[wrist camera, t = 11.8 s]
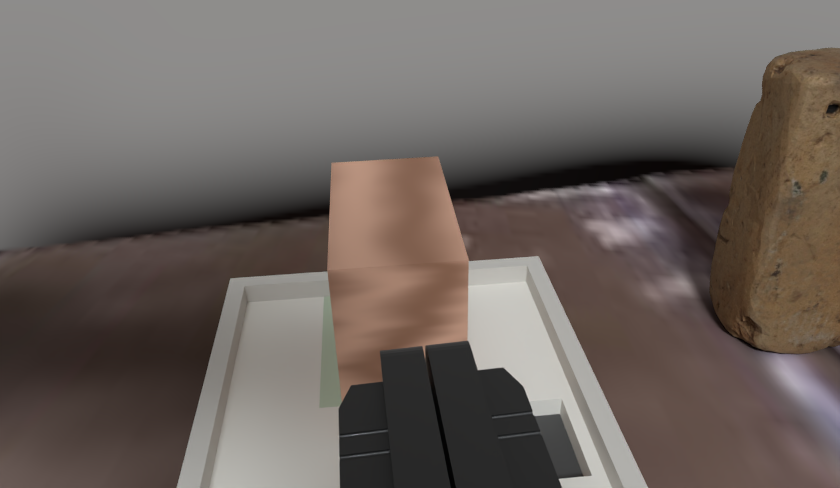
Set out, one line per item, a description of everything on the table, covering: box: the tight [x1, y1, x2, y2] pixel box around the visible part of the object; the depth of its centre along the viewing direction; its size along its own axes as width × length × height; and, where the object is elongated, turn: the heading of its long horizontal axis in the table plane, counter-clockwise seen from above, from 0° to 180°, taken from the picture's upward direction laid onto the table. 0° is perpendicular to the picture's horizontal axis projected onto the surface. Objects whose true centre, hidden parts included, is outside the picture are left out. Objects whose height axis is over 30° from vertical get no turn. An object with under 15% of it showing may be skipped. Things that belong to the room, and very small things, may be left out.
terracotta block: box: [327, 157, 469, 401], centre depth 42 cm, size 7×13×12 cm, turn 5°
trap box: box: [177, 256, 648, 488], centre depth 40 cm, size 24×32×3 cm
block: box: [710, 48, 840, 354], centre depth 45 cm, size 11×8×20 cm
